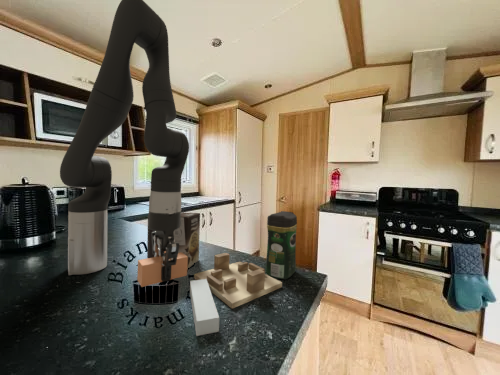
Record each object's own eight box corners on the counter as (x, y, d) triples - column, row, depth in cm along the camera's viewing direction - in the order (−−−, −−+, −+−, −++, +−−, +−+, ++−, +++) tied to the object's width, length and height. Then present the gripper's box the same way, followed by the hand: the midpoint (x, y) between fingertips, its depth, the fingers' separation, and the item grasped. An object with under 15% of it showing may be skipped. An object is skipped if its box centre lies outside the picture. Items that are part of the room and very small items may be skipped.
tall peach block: (141, 287, 51) (142, 265, 51) (137, 280, 54) (138, 260, 54) (187, 275, 58) (187, 256, 58) (180, 269, 61) (181, 252, 61)
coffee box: (186, 271, 66) (188, 217, 65) (167, 268, 67) (168, 215, 66) (199, 260, 75) (201, 212, 74) (182, 258, 76) (183, 211, 75)
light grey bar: (196, 337, 39) (196, 321, 39) (189, 292, 54) (190, 280, 54) (218, 333, 40) (219, 317, 40) (206, 290, 55) (206, 278, 55)
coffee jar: (274, 265, 72) (277, 208, 72) (298, 271, 68) (300, 211, 68) (260, 275, 64) (263, 212, 63) (286, 283, 60) (289, 215, 59)
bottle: (169, 253, 80) (170, 198, 79) (168, 260, 73) (169, 200, 72) (148, 255, 77) (149, 198, 77) (145, 262, 71) (146, 200, 70)
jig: (232, 308, 47) (232, 284, 47) (194, 278, 61) (194, 259, 61) (281, 287, 58) (282, 266, 58) (239, 265, 72) (240, 248, 71)
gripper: (141, 206, 58) (139, 270, 59) (159, 215, 47) (156, 293, 48) (170, 205, 63) (167, 264, 64) (191, 213, 52) (188, 284, 53)
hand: (162, 276), depth 56 cm, fingers closed on tall peach block, 4 cm apart
